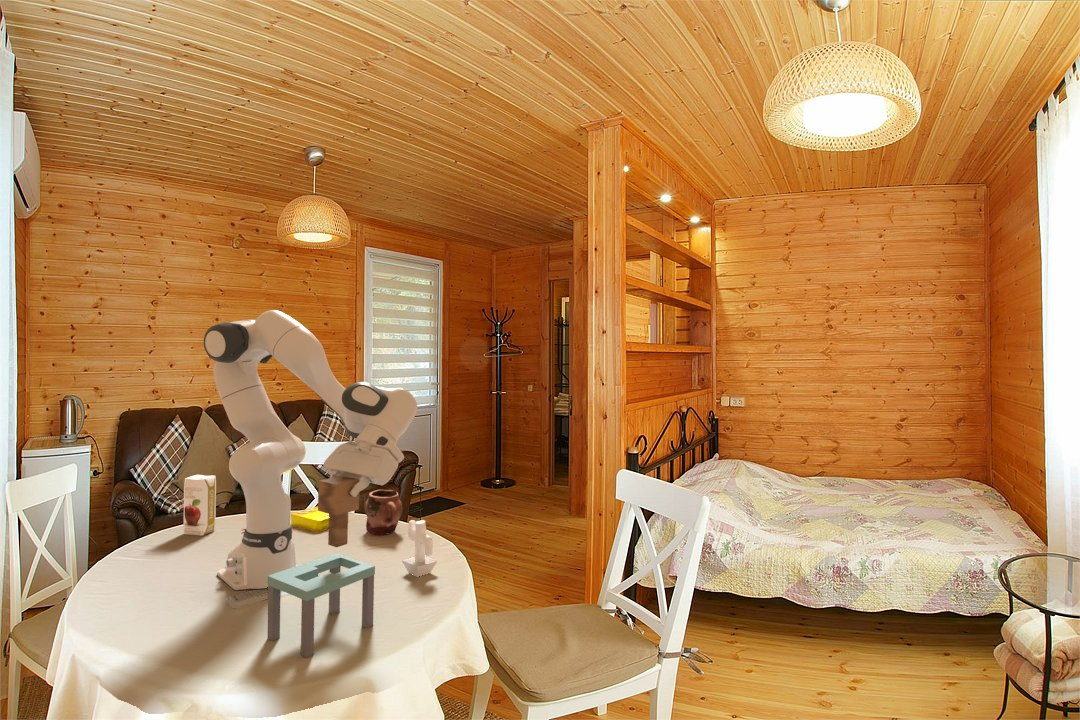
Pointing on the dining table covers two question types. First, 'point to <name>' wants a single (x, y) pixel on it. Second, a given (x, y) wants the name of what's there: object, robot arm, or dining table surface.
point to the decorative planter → (382, 512)
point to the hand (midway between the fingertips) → (339, 492)
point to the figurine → (420, 550)
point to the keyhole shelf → (319, 592)
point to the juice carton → (199, 505)
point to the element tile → (310, 519)
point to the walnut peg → (337, 506)
